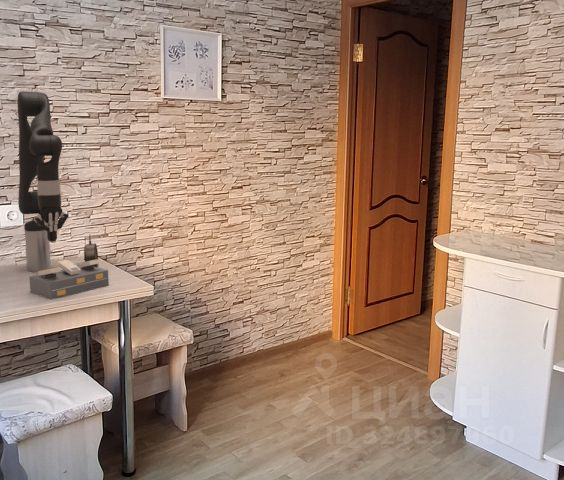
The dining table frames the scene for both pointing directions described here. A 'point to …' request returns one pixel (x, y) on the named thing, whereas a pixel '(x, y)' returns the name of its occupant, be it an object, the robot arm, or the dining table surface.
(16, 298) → the dining table surface
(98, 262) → the rocker
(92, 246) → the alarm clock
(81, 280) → the switch unit
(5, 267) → the dining table surface
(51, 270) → the rocker
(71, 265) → the rocker
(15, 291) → the dining table surface
